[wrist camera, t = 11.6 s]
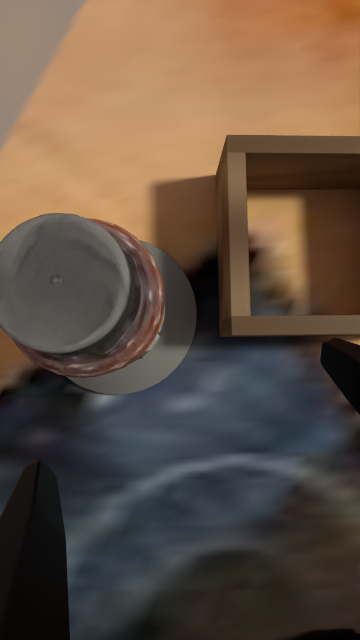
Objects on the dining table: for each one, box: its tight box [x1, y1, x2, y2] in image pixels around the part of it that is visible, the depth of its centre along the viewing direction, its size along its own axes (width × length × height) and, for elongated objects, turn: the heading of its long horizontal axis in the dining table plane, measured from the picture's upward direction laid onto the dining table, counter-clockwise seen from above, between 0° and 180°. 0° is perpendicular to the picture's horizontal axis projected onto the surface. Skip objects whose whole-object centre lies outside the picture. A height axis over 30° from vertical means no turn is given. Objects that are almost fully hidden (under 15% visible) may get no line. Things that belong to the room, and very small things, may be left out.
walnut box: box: [216, 135, 360, 337], centre depth 19 cm, size 11×11×4 cm
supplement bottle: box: [0, 213, 165, 378], centre depth 14 cm, size 6×6×11 cm
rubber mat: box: [66, 240, 197, 395], centre depth 20 cm, size 10×10×1 cm
